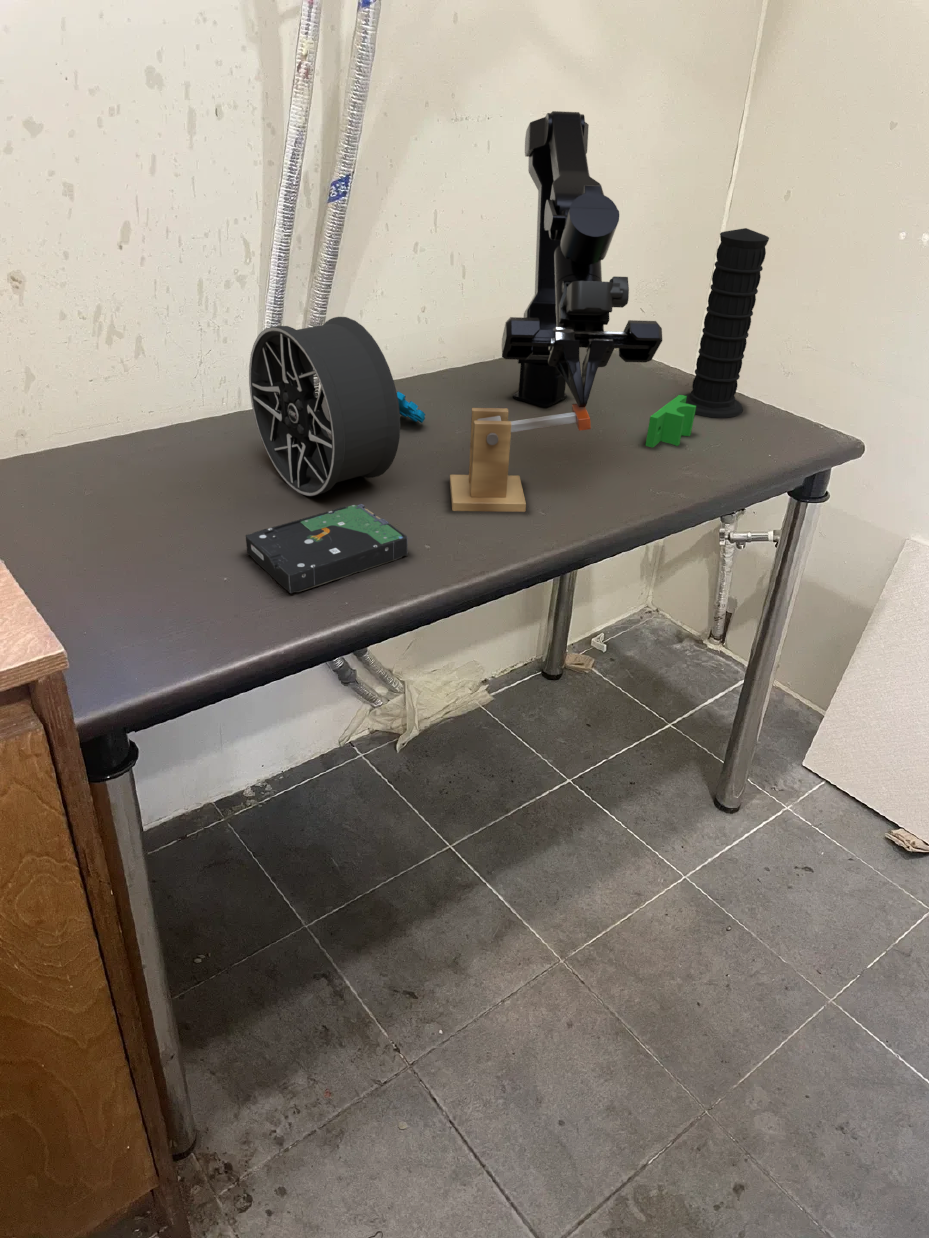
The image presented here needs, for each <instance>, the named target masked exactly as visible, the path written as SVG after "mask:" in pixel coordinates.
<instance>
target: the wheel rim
mask: <svg viewBox="0 0 929 1238" xmlns="http://www.w3.org/2000/svg"><path fill="white" fill-rule="evenodd" d="M315 375H316V377H317V380H318V382H319V385H320V387H319V391H318V395H316V388H315ZM248 383H249V384H248V385H249V397H250V403H251V408H252V411H253V417H254V420H255V425H256V428H257V431H258V434H259V437H260V439H261V442H262V444H263V447H264V449H265V451H266V453H267V456H268V458H269V460H270V461H271V463H272V465H273V467H274V468H275V470H276V471H277V473H278V474H279V476H280V477H281V478H282V479H283V481H284V482H285V483H286V484H287V485H288V486H289V487H290V488H292V489H293V490H294V491H296V492H297V493H299V494H300V495H304V496H307V497H314V496H317V495H322V494H324V493H326V492H329V491H330V490H331V489H332V488H333V487H334V486H335V485H336V484H337V483H341V482H344V481H348V480H352V479H355V478H358V477H361V478H366V479H371V478H373V479H374V478H377V477H380V476H381V475H384V474H385V473H386V472H387V471H388V470H389V469H390V467H391V466H392V464H393V462H394V460H395V459H396V456H397V452H398V449H399V444H400V437H401V415H400V412H399V403H398V397H397V392H398V391H397V388H396V385H395V381H394V378H393V375H392V371H391V368H390V366H389V364H388V362H387V359H386V357H385V355H384V353H383V351H382V350H381V347H380V346H379V344H378V342H377V341H376V340H375V339H374V337H373V335H372V334H371V333H370V332H369V331H368V330H367V329H366V328H365V326H364V325H362V324H361V323H359V322H358V321H357V320H355V319H352V318H350V317H348V316H334V317H332V318H329V319H328V320H326V321H325V322H324V323H323V324H321V325H316V326H310V327H309V326H308V327H304V328H299V329H295V328H294V327H292V326H290V325H276V326H270V327H268V328H265V329H263V330H261V332H260V333H259V334H258V335H257V336H256V338H255V340H254V342H253V344H252V348H251V352H250V357H249V365H248ZM324 400H325V402H326V406H327V413H328V418H329V419H328V418H327V416H326V414H325V412H324V409H323V402H324ZM328 433H329V434H330V435H331V438H330V436H329V434H328Z"/></svg>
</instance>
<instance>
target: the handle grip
mask: <svg viewBox="0 0 929 1238" xmlns="http://www.w3.org/2000/svg"><path fill="white" fill-rule="evenodd" d="M719 237H720V238H719V239H720V243H719V245H718V247H717V249H716V253H715V256H716V261H715V263H714V267H715V268H714V269H713V272H712V276H711V282H712V284H710V292H709V294H708V298H707V306H706V314H705V315H704V320H703V328H702V329H701V330H702V333H703V334H702V335H701V337H700V341H699V347H700V348H699V349H698V356H697V358H696V363H695V366H696V368H695V370H694V374H695V376H694V378H693V380H692V385H691V387H692V390H690V393H687V394H683V395H684V396H687V398H686V404H690V405H694V406H696V410H695V415H698V416H701V417H707V418H716V419H725V418H727V419H728V418H734V417H738V416H739V415H741V414H742V413H743V412H744V408H743V404H742V403H741V402H740V401H739V400H737V399H736V396H735V395H736V393H737V390H738V386H739V385H738V380H739V379H740V377H741V375H740V373H741V371H742V366H743V360H744V358H745V353H744V352H745V351H746V348H747V343H748V342H747V338H748V337H749V335H750V334H749V331H750V329H751V324H752V316H753V315H754V312H753V310H754V308H755V305H756V302H757V298H756V297H757V296H756V295H757V294H758V292H759V290H758V287H759V285H760V282H761V277H762V276H761V272H762V271H763V266H762V265H763V263H764V262H765V259H766V253H767V252H766V250H767V249H766V246H767V245H768V242H769V240H770V237H769V236H768V235H765V234H763V233H760V232H757V231H755V230H753V229H750V228H747V227H744V228H737V229H732V230H731V229H730V230H724V231H722V232H720V233H719Z"/></svg>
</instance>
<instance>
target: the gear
mask: <svg viewBox="0 0 929 1238" xmlns="http://www.w3.org/2000/svg"><path fill="white" fill-rule="evenodd" d="M396 392H397V397H398V403H399V412H400V416H402V417H404V418H407V417H408V418H409V419H410V420H411V421H412V422H414V423H417V422H418V423H421V424H423V423H424V422H425V420H426V413H425V412H424V411H423V410H421V409H418V408H419V406H418V404H416V403H415V402H413V401H412V400H410V401H408V400H406V395H405V394H404V393H402V392H400V391H399V390H398V391H396Z"/></svg>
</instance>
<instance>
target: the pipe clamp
mask: <svg viewBox="0 0 929 1238" xmlns="http://www.w3.org/2000/svg"><path fill="white" fill-rule="evenodd" d="M684 395H685V394H678V395H677V396H676V397H674V398H673V399H671V400H670V401H669V402H668V403H666V404H665V405H664V406H662V407H661V408H660V409H658V410H657V411H656V412H654V413H653V414H652V415H650V416H649V422H648V427H647V433H646V440H645V447H649V448H652V449H653V448H655V446H657V445H658V444H659V443H661V442H662V443H667V444H669V445H673V446H676V447H679V446H680V444H681V439H682V436H683V437H690V436H691V435H692V432H693V431H692V430H693V425H694V419H695V415H696V414H695V410H696V406H694V405H690V404H686V398H687V396H684Z"/></svg>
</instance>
